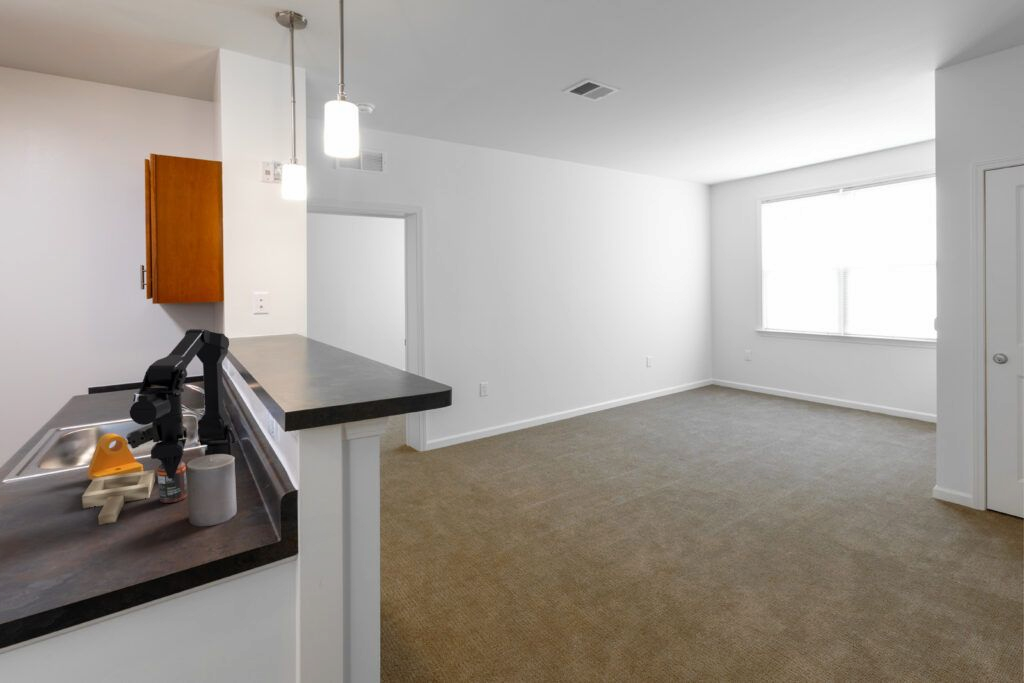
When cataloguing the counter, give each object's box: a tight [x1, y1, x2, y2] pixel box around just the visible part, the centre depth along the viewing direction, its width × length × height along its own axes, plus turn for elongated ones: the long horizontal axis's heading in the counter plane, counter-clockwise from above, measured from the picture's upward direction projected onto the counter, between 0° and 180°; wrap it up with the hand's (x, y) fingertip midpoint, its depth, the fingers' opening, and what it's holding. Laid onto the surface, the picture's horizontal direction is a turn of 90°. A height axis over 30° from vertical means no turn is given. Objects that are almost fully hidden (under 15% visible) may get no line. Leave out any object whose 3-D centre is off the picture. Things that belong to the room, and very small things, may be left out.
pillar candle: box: [186, 454, 238, 527], centre depth 117 cm, size 10×10×15 cm
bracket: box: [86, 433, 144, 482], centre depth 140 cm, size 11×7×12 cm, turn 147°
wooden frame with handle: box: [81, 469, 156, 526], centre depth 125 cm, size 13×25×3 cm, turn 30°
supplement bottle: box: [156, 460, 188, 504], centre depth 127 cm, size 6×6×11 cm
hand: (172, 474), depth 127 cm, fingers closed on supplement bottle, 6 cm apart
